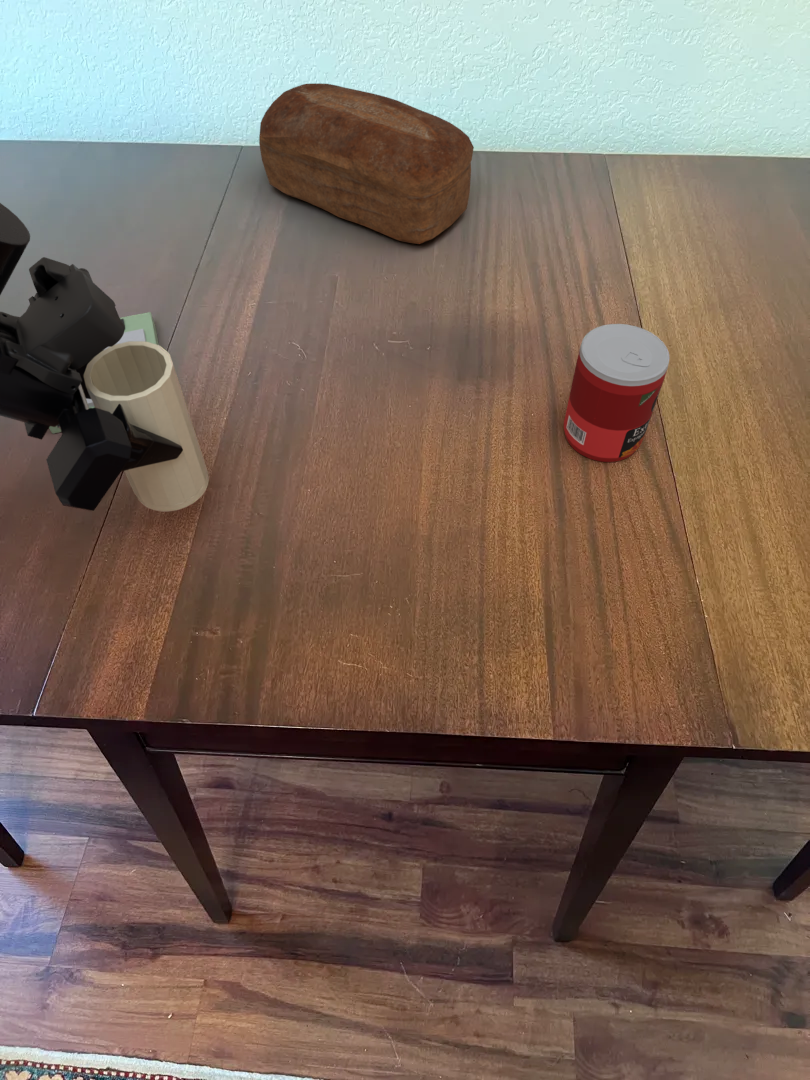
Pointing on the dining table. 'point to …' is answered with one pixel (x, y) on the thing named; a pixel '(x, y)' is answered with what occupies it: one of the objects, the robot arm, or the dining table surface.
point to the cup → (151, 419)
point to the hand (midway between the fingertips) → (168, 425)
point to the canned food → (614, 391)
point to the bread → (367, 159)
